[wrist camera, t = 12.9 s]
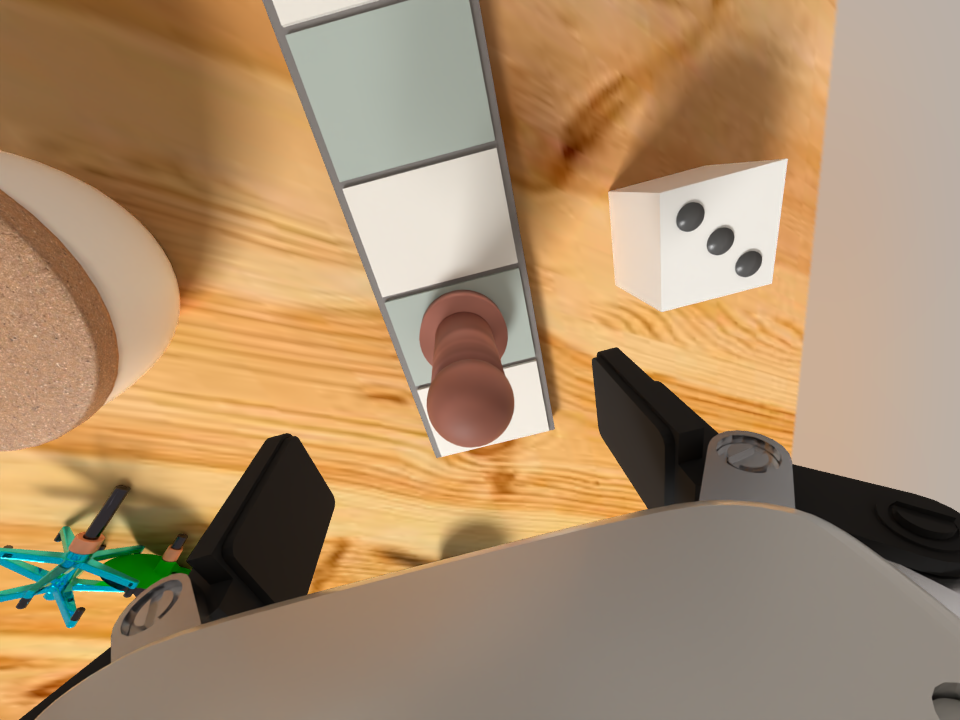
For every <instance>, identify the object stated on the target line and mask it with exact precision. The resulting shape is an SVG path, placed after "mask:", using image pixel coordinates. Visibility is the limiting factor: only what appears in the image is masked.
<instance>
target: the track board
mask: <svg viewBox="0 0 960 720" xmlns="http://www.w3.org/2000/svg"><path fill="white" fill-rule="evenodd" d="M262 1H263V3H264V6H265V8H266V11H267V14H268V16H269V19H270V22H271V24H272V27H273V29H274V32H275V35H276V37H277V40H278V43H279V45H280V48H281V50H282V53H283V56H284V58H285V61H286V64H287V66H288V69H289V72H290V74H291V77H292V79H293V82H294V85H295V87H296V90H297V93H298V95H299V98H300V100H301V103H302V106H303V108H304V111H305V114H306V116H307V119H308V121H309V124H310V127H311V129H312V132H313V135H314V137H315V140H316V143H317V145H318V148H319V150H320V153H321V156H322V158H323V161H324V164H325V166H326V169H327V171H328V174H329V177H330V179H331V182H332V185H333V187H334V190H335V192H336V195H337V198H338V200H339V203H340V206H341V208H342V211H343V214H344V216H345V219H346V221H347V224H348V227H349V229H350V232H351V235H352V237H353V240H354V242H355V245H356V248H357V250H358V253H359V256H360V258H361V261H362V263H363V266H364V269H365V271H366V274H367V277H368V279H369V282H370V285H371V287H372V290H373V292H374V295H375V298H376V300H377V303H378V306H379V308H380V311H381V313H382V316H383V319H384V321H385V324H386V327H387V329H388V332H389V334H390V337H391V340H392V342H393V345H394V348H395V350H396V353H397V355H398V358H399V361H400V363H401V366H402V369H403V371H404V374H405V377H406V379H407V382H408V384H409V387H410V390H411V392H412V395H413V398H414V400H415V403H416V405H417V408H418V411H419V413H420V416H421V419H422V421H423V424H424V426H425V429H426V432H427V434H428V437H429V440H430V442H431V445H432V448H433V450H434V453H435V455H436V458H438V457H443V456H447V455H451V454H455V453H459V452H463V451H468V450H472V449H476V448H480V447H484V446H488V445H492V444H496V443H501V442H505V441H509V440H513V439H517V438H521V437H525V436H529V435H534V434H538V433H542V432H546V431H549V430H553V429H555V428H554V422H553V416H552V411H551V405H550V399H549V394H548V388H547V383H546V377H545V371H544V366H543V360H542V354H541V349H540V343H539V337H538V332H537V326H536V320H535V315H534V309H533V304H532V298H531V292H530V287H529V281H528V275H527V270H526V264H525V258H524V253H523V247H522V241H521V236H520V230H519V224H518V219H517V213H516V208H515V202H514V196H513V191H512V185H511V179H510V174H509V168H508V162H507V157H506V151H505V145H504V140H503V134H502V128H501V123H500V117H499V112H498V106H497V100H496V95H495V89H494V83H493V78H492V72H491V66H490V61H489V55H488V49H487V44H486V38H485V33H484V27H483V21H482V16H481V10H480V4H479V0H262ZM455 290H472V291H476V292H479V293H481V294H483V295H485V296H487V297H488V298H490V299H491V300H492V301H493V302H494V303H495V304H496V305H497V307H498V308H499V310H500V312H501V314H502V316H503V318H504V321H505V323H506V326H507V331H508V342H507V347H506V350H505V352H504V354H503V356H502V358H501V359H500V360H501V363H502V366H503V370H504V373H505V376H506V378H507V379H508V381H509V383H510V385H511V387H512V390H513V394H514V413H513V416H512V419H511V422H510V424H509V425H508V427H507V428H506V430H505V431H504V432H503V434H502V435H501V436H499V437H498V438H497V439H496V440H494V441H493V442H491V443H489V444H486V445H484V446H480V447H472V448H469V447H461V446H457V445H454V444H452V443H450V442H448V441H447V440H445V439H444V438H443V437H441V436H440V435H439V434H438V433H437V431H436V430H435V429H434V427H433V426H432V424H431V422H430V419H429V416H428V412H427V395H428V390H429V387H430V385H431V377H432V366H431V365H430V364H429V362H428V361H427V360H426V358H425V357H424V355H423V353H422V350H421V347H420V341H419V333H420V328H421V323H422V319H423V316H424V313H425V311H426V310H427V308H428V307H429V305H430V304H431V303H432V302H433V301H434V300H435V299H437V298H438V297H440V296H441V295H443V294H445V293H448V292H451V291H455Z"/></svg>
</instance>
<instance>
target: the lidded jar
mask: <svg viewBox="0 0 960 720" xmlns="http://www.w3.org/2000/svg"><path fill="white" fill-rule="evenodd" d="M179 314H180V292H179V287H178V283H177V279H176V276H175V273H174V271H173V268H172V266H171V263H170V262H169V260H168V258H167V256H166V254H165V253H164V251H163V249H162V248H161V246H160V245H159V244H158V242H157V241H156V240H155V238H154V237H153V236H152V234H151V233H150V232H149V231H148V230H147V229H146V228H145V227H144V226H143V225H142V224H141V223H140V222H139V221H138V220H137V219H136V218H135V217H134V216H133V215H132V214H130V213H129V212H128V211H127V210H126V209H125V208H123V207H122V206H121V205H119V204H118V203H116V202H115V201H113V200H112V199H111V198H109V197H108V196H106V195H105V194H103V193H102V192H100V191H99V190H98V189H96V188H94V187H92V186H90V185H88V184H87V183H85V182H83V181H81V180H79V179H77V178H75V177H73V176H71V175H69V174H67V173H64V172H62V171H60V170H58V169H55V168H53V167H50V166H48V165H45V164H43V163H40V162H38V161H35V160H32V159H29V158H25V157H22V156H18V155H15V154H12V153H8V152H5V151H1V150H0V451H13V450H20V449H24V448H29V447H34V446H39V445H41V444H44V443H47V442H49V441H52V440H55V439H57V438H59V437H61V436H62V435H64V434H65V433H67V432H69V431H70V430H72V429H74V428H75V427H77V426H79V425H80V424H82V423H83V422H85V421H86V420H88V419H89V418H90V417H91V416H92V415H93V414H94V413H96V412H97V411H98V410H99V409H100V408H101V407H102V406H104V405H105V404H107V403H108V402H110V401H112V400H113V399H114V398H116V397H117V396H119V395H120V394H122V393H123V392H124V391H126V390H127V389H129V388H130V387H131V386H132V385H133V384H134V383H136V382H137V381H138V380H139V379H140V378H141V377H142V376H143V375H144V374H146V373H147V372H148V371H149V370H150V369H151V368H152V367H153V366H154V365H155V363H156V362H157V361H158V360H159V359H160V358H161V356H162V355H163V354H164V352H165V351H166V349H167V347H168V346H169V344H170V342H171V340H172V338H173V336H174V333H175V331H176V328H177V325H178V321H179Z"/></svg>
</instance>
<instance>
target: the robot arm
mask: <svg viewBox="0 0 960 720" xmlns="http://www.w3.org/2000/svg"><path fill="white" fill-rule="evenodd" d="M592 368H593V378H594V388H595V398H596V408H597V418H598V427H599V431H600V434H601V436H602V438H603V440H604V441H605V443H606V445H607V446H608V448H609V449H610V451H611V452H612V454H613V455H614V457H615V458H616V460H617V462H618V463H619V465H620V466H621V468H622V469H623V471H624V472H625V474H626V475H627V477H628V479H629V480H630V482H631V483H632V485H633V486H634V488H635V489H636V491H637V492H638V494H639V496H640V497H641V499H642V500H643V502H644V503H645V505H646V506H647V508H648V509H647V510H642V511H638V512H634V513H629V514H625V515H621V516H616V517H612V518H608V519H603V520H599V521H595V522H591V523H586V524H582V525H578V526H574V527H570V528H566V529H562V530H558V531H554V532H550V533H546V534H542V535H538V536H534V537H530V538H526V539H522V540H518V541H514V542H510V543H506V544H502V545H498V546H494V547H490V548H486V549H482V550H478V551H474V552H471V553H467V554H463V555H459V556H455V557H451V558H447V559H443V560H439V561H435V562H431V563H428V564H424V565H420V566H416V567H412V568H408V569H404V570H400V571H396V572H393V573H389V574H385V575H381V576H377V577H373V578H369V579H366V580H362V581H358V582H354V583H350V584H347V585H343V586H339V587H335V588H331V589H328V590H324V591H320V592H316V593H312V594H308V590H309V587H310V584H311V581H312V578H313V574H314V571H315V568H316V565H317V562H318V559H319V555H320V552H321V549H322V546H323V543H324V539H325V536H326V533H327V530H328V527H329V523H330V520H331V517H332V514H333V511H334V507H335V499H334V496H333V494H332V492H331V491H330V489H329V487H328V486H327V484H326V482H325V481H324V479H323V478H322V476H321V474H320V473H319V471H318V469H317V468H316V466H315V464H314V463H313V461H312V459H311V458H310V456H309V454H308V453H307V451H306V450H305V448H304V446H303V445H302V443H301V441H300V440H299V438H298V437H296V436H292V435H291V434H289V433H286V434H282V435H278V436H274V437H271V438H268V439H267V440H266V441H265V442H264V444H263V445H262V447H261V448H260V450H259V451H258V453H257V454H256V456H255V457H254V459H253V460H252V462H251V464H250V465H249V467H248V468H247V470H246V471H245V473H244V474H243V476H242V477H241V479H240V480H239V482H238V483H237V485H236V486H235V488H234V489H233V491H232V492H231V494H230V495H229V497H228V498H227V500H226V501H225V503H224V504H223V506H222V507H221V509H220V510H219V512H218V513H217V515H216V516H215V518H214V520H213V521H212V523H211V524H210V526H209V527H208V529H207V530H206V532H205V533H204V535H203V536H202V538H201V539H200V541H199V542H198V544H197V545H196V547H195V548H194V550H193V551H192V553H191V554H190V556H189V557H188V559H187V560H186V562H187V563H188V564H189V565H190V566H191V567H193V568H192V570H191V572H190V573H189V575H187V574H183V573H177V574H172V575H169V576H167V577H165V578H162V579H161V580H159V581H157V582H156V583H154V584H152V585H151V586H149V587H148V588H147V589H146V590H144V591H143V592H142V593H141V594H139V595H138V596H137V597H136V598H135V599H134V600H133V601H132V602H131V603H130V604H129V605H128V606H127V607H126V609H125V610H124V611H123V612H122V614H121V615H120V616H119V618H118V620H117V621H116V623H115V625H114V627H113V630H112V635H111V647H110V648H109V649H108V650H106V651H105V652H104V653H103V654H101V655H100V656H99V657H97V658H96V659H95V660H94V661H92V662H91V663H90V664H89V665H87V666H86V667H85V668H84V669H82V670H81V671H80V672H79V673H77V674H76V675H75V676H74V677H72V678H71V679H70V680H69V681H67V682H66V683H65V684H63V685H62V686H61V687H60V688H58V689H57V690H56V691H55V692H53V693H52V694H51V695H50V696H48V697H47V698H46V699H45V700H43V701H42V702H41V703H40V704H38V705H37V706H36V707H34V708H33V709H32V710H31V711H29V712H28V713H27V714H26V715H24V716H23V717H22V718H21V719H19V720H960V513H958V512H957V511H955V510H954V509H952V508H950V507H948V506H946V505H943V504H941V503H939V502H937V501H935V500H932V499H929V498H926V497H923V496H919V495H916V494H912V493H908V492H904V491H900V490H896V489H892V488H888V487H884V486H880V485H876V484H871V483H868V482H863V481H859V480H855V479H851V478H847V477H843V476H839V475H835V474H830V473H826V472H822V471H818V470H814V469H810V468H806V467H802V466H797V465H794V464H792V460H791V457H790V454H789V453H788V452H787V451H786V449H785V448H784V447H783V446H782V445H780V444H779V443H777V442H776V441H774V440H773V439H770V438H768V437H766V436H763V435H761V434H757V433H753V432H749V431H737V430H736V431H726V432H723V433H720V434H718V433H717V432H716V431H715V430H714V429H713V428H712V427H711V426H709V425H708V424H707V423H706V422H705V421H704V420H703V419H702V418H701V417H699V416H698V415H697V414H696V413H695V412H694V411H693V410H692V409H690V408H689V407H688V406H687V405H686V404H685V403H684V402H683V401H681V400H680V399H679V398H678V397H677V396H676V395H675V394H674V393H673V392H671V391H670V390H669V389H668V388H667V387H666V386H665V385H664V384H662V383H661V382H659V381H654V380H652V379H651V378H650V377H649V376H648V375H647V374H646V373H645V372H644V371H643V370H642V369H640V368H639V367H638V366H637V365H636V364H635V363H634V362H633V361H632V360H631V359H629V358H628V357H627V356H626V355H625V354H624V353H623V352H622V351H621V350H620V349H619V348H617V347H616V348H612V349H608V350H604V351H600V352H598V353H597V357H596V358H593V359H592ZM307 594H308V595H307Z"/></svg>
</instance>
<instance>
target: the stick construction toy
mask: <svg viewBox="0 0 960 720" xmlns="http://www.w3.org/2000/svg"><path fill="white" fill-rule="evenodd" d="M129 491H130V488H129V487H126V486H122V485H118V486H116V487H115V488H114V490H113V491H112V493H111V494H110V496H109V498H108V499H107V501H106V502H105V504H104V505H103V507H102V508H101V510H100V511H99V513H98V514H97V516H96V517H95V519H94V520H93V522H92V523H91V525H90V526H89V528H88V529H87V531H86V532H81V533H79V534H77V535H76V537H75V536H74V534H73V532H72V530H71V528H70V527H69V526H64V527H62V529H61V530H60V532H59V533H58V535H57V536H56V538H55V539H54V541H56V542H60V541H62V545H63V549H64V553H62V552H49V551H37V550H24V549H13V546H10V545H7V546H4V548H0V565H2V566H4V567H6V568H8V569H10V570H12V571H14V572H17V573H19V574H21V575H23V576H25V577H27V578H30V579H32V580H34V581H36V583H34V584H30V585H25V586H21V587H17V588H12V589H8V590H3V591H0V602H3V601H8V600H13V599H18V598H21V600H20V601H19V603H18V604H17V606H16V608H17V609H23V608H26V607H27V605H28V604H29V602H30V601H31V599H32V598H33V596H34V595H38V594H43V593H45V594H44V596H43V597H44V599H46V600H56V602H57V605H58V607H59V610H60V612H61V615H62V617H63V620H64V622H65V624H66V627H67V628H72V627H74V626H75V625H76V624H77V622H78V621H79V619H80V617H81V616H82V614H83V613H84V611H85V608H84V607H80V608H77V609H76V604H75V600H74V595H73V591H107V592H125V594H124V595H123V596H124V597H126V598H128V597H131V595H132V594H134V595H135V596H136V597H137V596H138V595H139V594H141V593H142V592H143V591H144V590H146V589H147V588H148V587H149V586H151V585H152V584H154V583H156V582H157V581H159V580H161V579H162V578H165V577H167V576H169V575H172V574H177V573H183V574H187V575H189V573H190V572H191V570H190V569H187V568H184V567H180V566H179V565H178V564H177V563H176V561H177V559H178V557H179V556H180V554H181V552H182V551H183V547H182V546H183V544H184V543H185V541H186V539H187V538H188V536H187V535H186V534H179V535H178V536H177V538H176V539H175V541H174V543H173V544H172V545H169V546H168V548H167V550H166V551H165V553H164V555H163V556H159V555H153V554H141V553H142V551H143V549H144V548H145V546H142V545H138V546H130V547H123V548H116V549H108V550H104V549H105V547H106V546H104V545H101V544H102V543H103V541H104V540H105V537H104V536H103V535H102V532H103V531H104V529H105V528H106V526H107V525H108V523H109V522H110V520H111V519H112V517H113V516H114V514H115V512H116V511H117V509H118V508H119V506H120V505H121V503H122V502H123V500H124V499H125V497H126V496H127V494H128V492H129ZM129 554H130V555H129ZM115 557H116V558H115ZM110 558H113V559H111V560H109V561H107V562H106V563H104V564H102V563H100V562H98V561H101V560H105V559H110ZM20 560H25V561H34V562H44V563H54V564H59V565H58V566H57V567H55V568H54V569H53V570H51V571H47V570H44V569H42V568H39V567H36V566H34V565H31V564H28V563H26V562H23V561H20ZM84 571H87V572H90V573H92V574H95V575H98V576H100V577H101V579H102V580H103V581H97V580H86V579H78V578H77V577H79V576H80V575H81V574H82V573H83V572H84Z"/></svg>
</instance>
